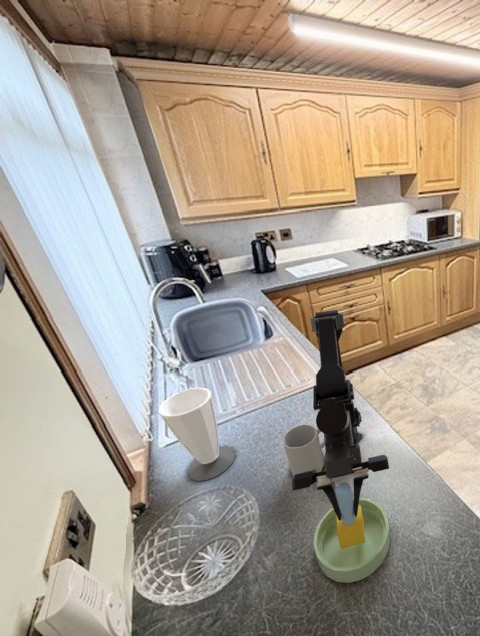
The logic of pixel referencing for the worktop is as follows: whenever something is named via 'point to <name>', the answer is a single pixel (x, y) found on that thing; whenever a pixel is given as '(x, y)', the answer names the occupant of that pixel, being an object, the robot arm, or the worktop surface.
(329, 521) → the bowl
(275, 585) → the worktop surface
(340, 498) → the sponge wand
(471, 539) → the worktop surface
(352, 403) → the robot arm
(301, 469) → the mug
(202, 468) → the cup
